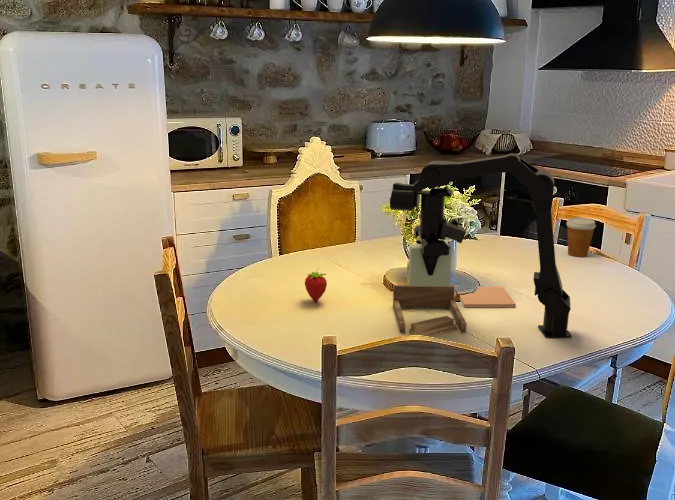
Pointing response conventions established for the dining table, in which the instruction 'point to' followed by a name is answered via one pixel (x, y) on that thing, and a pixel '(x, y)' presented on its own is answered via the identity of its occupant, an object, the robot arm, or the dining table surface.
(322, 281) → the strawberry
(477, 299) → the tile
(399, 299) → the rack
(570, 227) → the disposable coffee cup
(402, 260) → the dining table surface
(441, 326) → the offcut stack
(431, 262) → the robot arm
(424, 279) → the sage green square block
